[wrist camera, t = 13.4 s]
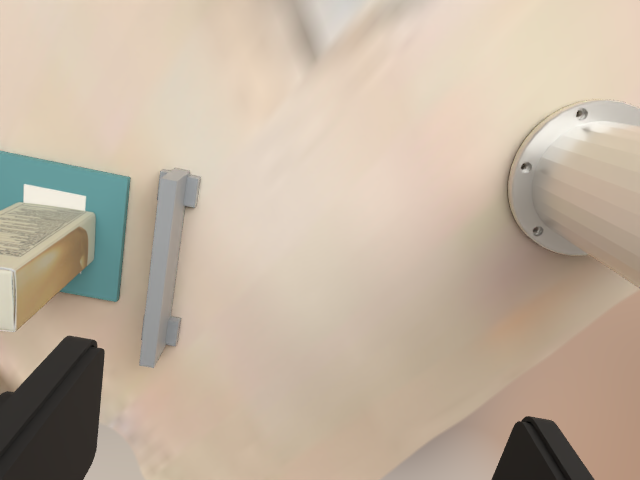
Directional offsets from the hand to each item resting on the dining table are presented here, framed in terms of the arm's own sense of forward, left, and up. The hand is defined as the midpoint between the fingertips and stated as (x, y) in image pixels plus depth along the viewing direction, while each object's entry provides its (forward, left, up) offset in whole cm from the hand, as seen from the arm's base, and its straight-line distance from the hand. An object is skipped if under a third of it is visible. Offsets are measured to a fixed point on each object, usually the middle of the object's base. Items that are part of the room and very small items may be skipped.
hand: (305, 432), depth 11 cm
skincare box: (+19, +9, -30) cm, 36 cm away
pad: (+20, +9, -30) cm, 37 cm away
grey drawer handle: (+10, +10, -30) cm, 33 cm away
